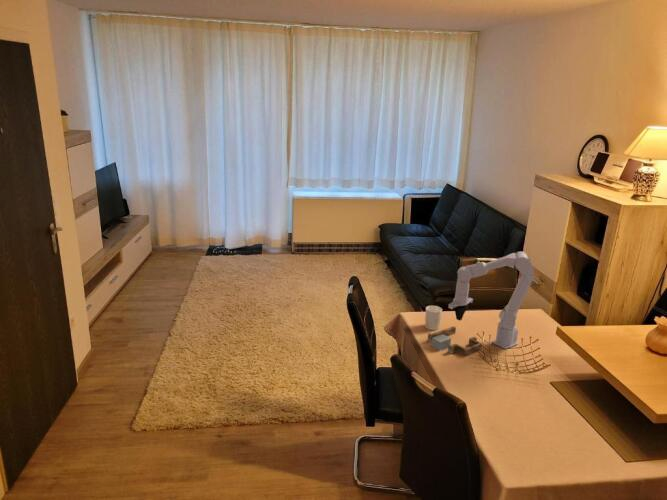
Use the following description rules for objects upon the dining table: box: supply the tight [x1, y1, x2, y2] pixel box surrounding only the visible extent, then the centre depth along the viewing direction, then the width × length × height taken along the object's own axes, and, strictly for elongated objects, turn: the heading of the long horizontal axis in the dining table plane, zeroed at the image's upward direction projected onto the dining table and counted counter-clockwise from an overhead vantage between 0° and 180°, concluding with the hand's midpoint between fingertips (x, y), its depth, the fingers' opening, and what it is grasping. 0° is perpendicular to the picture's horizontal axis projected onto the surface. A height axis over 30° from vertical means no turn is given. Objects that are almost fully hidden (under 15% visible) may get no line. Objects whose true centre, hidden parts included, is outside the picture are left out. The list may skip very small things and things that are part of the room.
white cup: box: [424, 305, 443, 331], centre depth 243 cm, size 8×8×10 cm
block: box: [431, 334, 452, 352], centre depth 226 cm, size 7×5×4 cm
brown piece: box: [427, 326, 483, 357], centre depth 228 cm, size 17×19×4 cm
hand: (458, 319), depth 232 cm, fingers closed
